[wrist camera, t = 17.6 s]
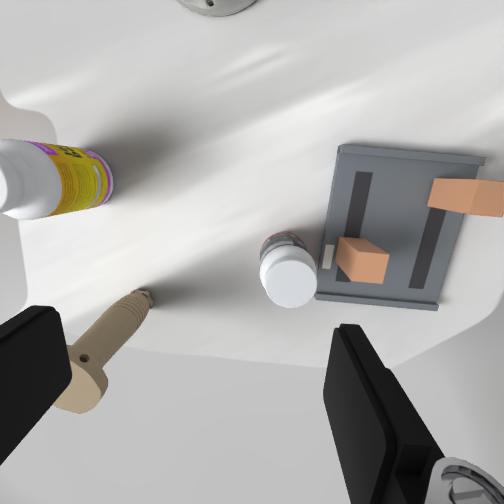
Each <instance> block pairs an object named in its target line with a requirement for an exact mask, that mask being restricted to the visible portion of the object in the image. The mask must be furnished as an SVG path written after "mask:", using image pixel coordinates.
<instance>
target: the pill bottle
mask: <svg viewBox="0 0 504 504" xmlns="http://www.w3.org/2000/svg"><path fill="white" fill-rule="evenodd" d="M316 274H317V271H316V264H315V262H314V260H313V258H312V256H311V254H310V253H309V251H308V250H307V248H306V246H305V245H304V243H303V242H302V240H301V239H300V238H298V237H297V236H296V235H294V234H291V233H286V232H281V233H276V234H274V235H272V236H270V237H269V238H268V239H267V240H266V241H265V242H264V243H263V245H262V248H261V251H260V279H261V282H262V285H263V286H264V288H265V289H266V292H267V294H268V296H269V298H270V299H271V300H272V301H273V302H274V303H276V304H277V305H279V306H282V307H286V308H296V307H300V306H302V305H304V304H306V303H307V302H309V301H310V300H311V299H312V297H313V296H314V294H315V292H316V289H317V277H316Z"/></svg>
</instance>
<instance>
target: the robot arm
mask: <svg viewBox="0 0 504 504" xmlns="http://www.w3.org/2000/svg"><path fill="white" fill-rule="evenodd" d="M177 1H178V2H179V3H180V4H182V5H183V6H185V7H186V8H188V9H189V10H191V11H194V12H196V13H199V14H201V15H206V16H213V17H217V16H227V15H230V14H233V13H236V12H239V11H241V10H242V9H244V8H246V7H248V6H249V5H251V4H252V3H253V2H254V1H255V0H177ZM211 4H214V5H213V6H211V7H210V5H211ZM71 380H72V369H71V364H70V360H69V355H68V350H67V346H66V341H65V336H64V332H63V327H62V322H61V318H60V314H59V312H57V311H56V310H55V308H54V307H51V306H37V305H34V306H30V307H28V308H27V309H25V310H24V311H22V312H20V313H19V314H17V315H16V316H14V317H13V318H11V319H9V320H8V321H6V322H5V323H3V324H2V325H0V465H1V464H2V463H3V462H4V461H5V460H6V458H7V457H8V456H9V455H10V454H11V452H12V451H13V450H14V449H15V448H16V447H17V445H18V444H19V443H20V442H21V440H23V438H24V437H25V436H26V435H27V434H28V433H29V431H30V430H31V429H32V428H33V427H34V426H35V424H36V423H37V422H38V421H39V420H40V418H41V417H42V416H43V415H44V414H45V413H46V411H47V410H48V409H49V408H50V406H52V404H53V403H54V402H55V401H56V400H57V399H58V397H59V396H60V395H61V394H62V393H63V392H64V390H65V389H66V388H67V387H68V386H69V384H70V382H71ZM323 398H324V403H325V407H326V411H327V415H328V418H329V422H330V426H331V430H332V434H333V437H334V441H335V445H336V448H337V453H338V456H339V460H340V464H341V468H342V472H343V475H344V479H345V483H346V487H347V490H348V494H349V498H350V502H351V504H504V487H503V486H502V485H501V484H500V483H499V482H498V481H497V480H495V479H494V478H493V477H492V476H491V475H489V474H488V473H487V472H485V471H484V470H482V469H480V468H479V467H478V466H476V465H473V464H471V463H469V462H467V461H465V460H462V459H458V458H454V457H450V458H449V457H448V458H446V457H445V456H444V454H443V453H442V451H441V449H440V448H439V446H438V445H437V443H436V442H435V440H434V438H433V437H432V435H431V434H430V432H429V430H428V429H427V427H426V425H425V424H424V422H423V421H422V419H421V417H420V416H419V414H418V413H417V411H416V409H415V408H414V406H413V405H412V403H411V401H410V400H409V398H408V397H407V395H406V393H405V392H404V390H403V388H402V387H401V385H400V384H399V382H398V381H397V379H396V377H395V376H394V374H393V373H392V372H391V370H390V369H388V368H385V366H384V365H383V363H382V361H381V360H380V358H379V356H378V355H377V353H376V351H375V350H374V348H373V346H372V345H371V343H370V341H369V340H368V338H367V336H366V335H365V333H364V331H363V330H362V328H361V327H360V325H356V324H341V325H340V327H339V328H335V329H334V332H333V338H332V343H331V349H330V355H329V360H328V366H327V372H326V378H325V383H324V389H323Z"/></svg>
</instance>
